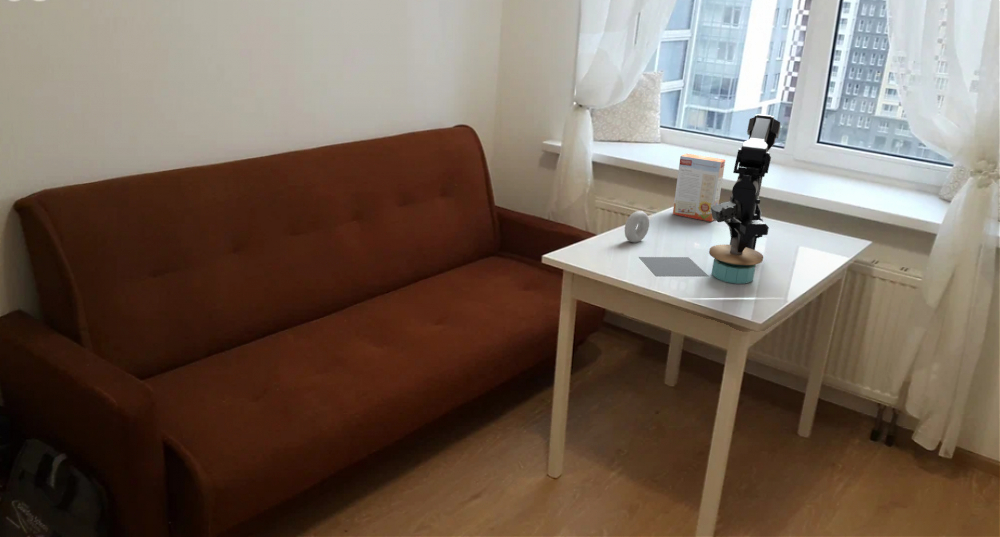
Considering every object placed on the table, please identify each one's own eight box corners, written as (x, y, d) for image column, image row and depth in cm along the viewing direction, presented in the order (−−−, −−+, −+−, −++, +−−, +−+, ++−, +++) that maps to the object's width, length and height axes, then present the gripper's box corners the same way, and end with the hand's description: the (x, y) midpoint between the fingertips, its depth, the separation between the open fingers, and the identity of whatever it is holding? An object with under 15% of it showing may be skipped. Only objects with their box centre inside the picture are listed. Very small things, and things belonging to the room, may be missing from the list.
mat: (688, 258, 220) (688, 257, 220) (708, 277, 206) (708, 276, 206) (638, 258, 218) (638, 256, 217) (655, 277, 204) (655, 276, 204)
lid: (748, 247, 212) (751, 231, 210) (772, 265, 199) (775, 247, 197) (701, 247, 210) (703, 230, 208) (721, 265, 197) (724, 247, 195)
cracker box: (716, 218, 261) (726, 159, 253) (711, 222, 256) (721, 161, 249) (678, 211, 268) (686, 152, 260) (671, 214, 263) (680, 155, 256)
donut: (629, 247, 227) (633, 215, 224) (620, 243, 229) (624, 212, 226) (649, 241, 234) (653, 209, 230) (640, 238, 236) (644, 207, 232)
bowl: (741, 271, 212) (744, 255, 211) (759, 286, 202) (762, 268, 201) (705, 271, 211) (708, 254, 209) (721, 286, 201) (724, 268, 199)
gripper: (703, 184, 206) (695, 238, 211) (732, 203, 188) (722, 262, 194) (742, 184, 207) (733, 238, 213) (774, 203, 190) (763, 262, 195)
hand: (736, 250), depth 204 cm, fingers closed on lid, 3 cm apart
